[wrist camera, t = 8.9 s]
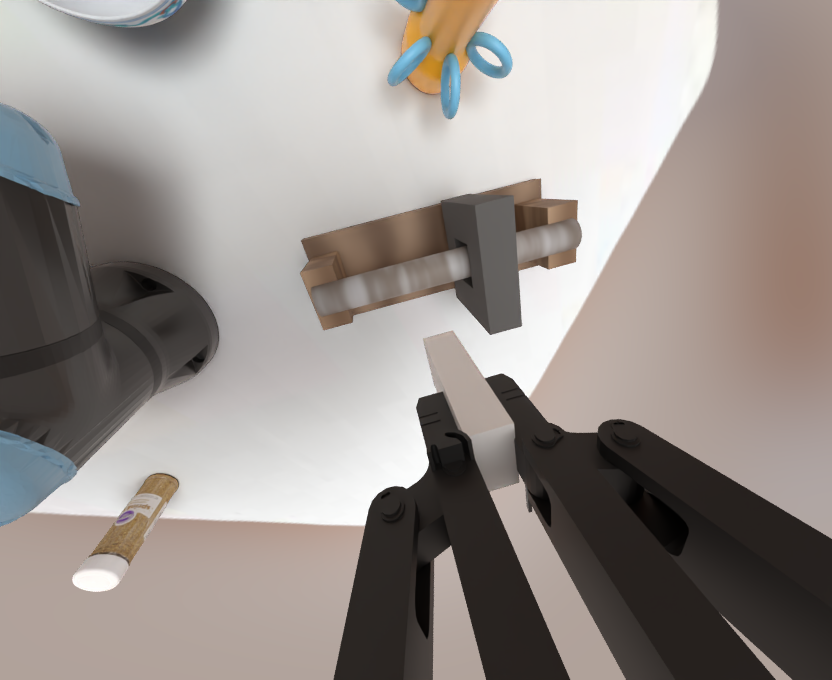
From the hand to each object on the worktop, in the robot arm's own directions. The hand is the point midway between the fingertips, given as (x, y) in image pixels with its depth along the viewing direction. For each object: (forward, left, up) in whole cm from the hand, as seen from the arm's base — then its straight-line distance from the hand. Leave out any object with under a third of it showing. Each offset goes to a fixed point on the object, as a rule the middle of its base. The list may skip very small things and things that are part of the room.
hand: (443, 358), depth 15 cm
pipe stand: (+4, 0, -25) cm, 25 cm away
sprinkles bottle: (-44, -24, -25) cm, 56 cm away
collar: (+8, 0, -22) cm, 23 cm away
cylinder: (+8, +18, -25) cm, 32 cm away
